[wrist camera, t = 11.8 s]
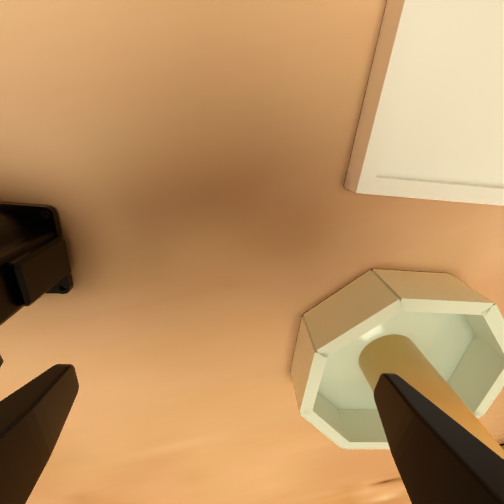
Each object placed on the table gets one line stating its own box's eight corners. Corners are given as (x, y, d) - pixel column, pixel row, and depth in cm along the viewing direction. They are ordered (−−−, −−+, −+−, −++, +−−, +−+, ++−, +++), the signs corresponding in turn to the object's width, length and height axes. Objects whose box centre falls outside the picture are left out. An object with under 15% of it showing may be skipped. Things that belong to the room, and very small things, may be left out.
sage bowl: (283, 405, 26) (290, 449, 23) (312, 265, 20) (329, 294, 16) (431, 407, 28) (460, 449, 24) (504, 276, 21) (559, 306, 18)
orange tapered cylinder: (347, 358, 23) (448, 564, 12) (396, 324, 22) (560, 521, 11) (378, 384, 24) (492, 587, 14) (425, 355, 23) (593, 552, 12)
